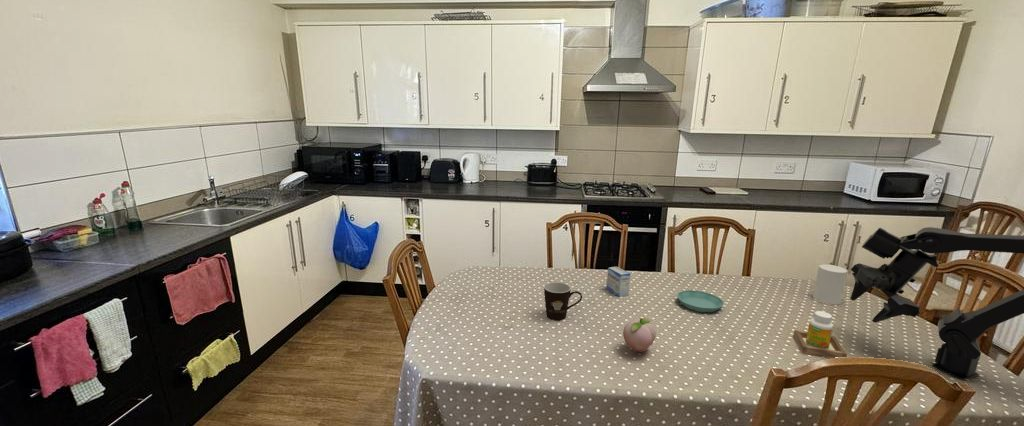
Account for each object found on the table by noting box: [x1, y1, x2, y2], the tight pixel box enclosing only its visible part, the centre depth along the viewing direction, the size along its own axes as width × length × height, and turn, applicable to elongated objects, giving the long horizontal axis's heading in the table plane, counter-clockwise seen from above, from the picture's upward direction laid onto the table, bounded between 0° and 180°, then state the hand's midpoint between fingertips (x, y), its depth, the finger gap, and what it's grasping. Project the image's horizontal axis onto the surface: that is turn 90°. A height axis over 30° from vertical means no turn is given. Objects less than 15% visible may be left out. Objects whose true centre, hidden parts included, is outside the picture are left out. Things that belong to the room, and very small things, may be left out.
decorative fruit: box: [622, 317, 657, 353], centre depth 116 cm, size 9×8×10 cm
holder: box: [792, 329, 848, 359], centre depth 120 cm, size 10×10×2 cm
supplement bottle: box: [806, 310, 834, 349], centre depth 119 cm, size 5×5×10 cm
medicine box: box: [605, 266, 631, 298], centre depth 155 cm, size 8×4×9 cm, turn 25°
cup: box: [812, 263, 848, 306], centre depth 151 cm, size 8×8×12 cm
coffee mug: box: [543, 281, 583, 322], centre depth 135 cm, size 12×9×10 cm
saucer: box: [676, 289, 725, 313], centre depth 146 cm, size 15×15×3 cm
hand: (862, 310), depth 121 cm, fingers open, 9 cm apart
